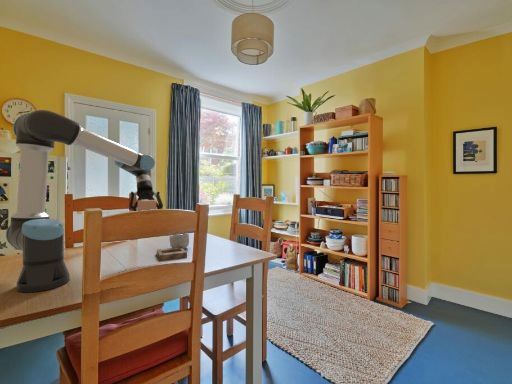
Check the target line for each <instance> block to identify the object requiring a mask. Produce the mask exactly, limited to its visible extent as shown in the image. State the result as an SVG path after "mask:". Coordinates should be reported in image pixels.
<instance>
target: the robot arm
mask: <svg viewBox="0 0 512 384" xmlns="http://www.w3.org/2000/svg"><path fill="white" fill-rule="evenodd" d="M12 126H13V127H12V131H13V133H14V136H15V137H16V138H15V146H16V147H17V148H18V149H20V156H19V157H20V158H19V159H20V160H19V170H18V184H17V185H18V186H17V201H16V212H14V213H13V214H11V216H10V222H9V223H10V225H9V226H8V227H7V229H6V231H5V239H6V241H7V242H8V244H9V245H10V246H11V247H13V248H14V249H17V250H20V251H22V268H21V271H20V273H19V275H18V279H17V281H16V291H18V292H19V293H38V292H44V291H48V290H52V289H55V288H58V287H62V286H63V285H66V284H67V283H69V282H70V280H71V278H70V275H71V274H70V271H69V269H68V267H67V265H66V263H65V260H64V259H65V256H64V255H65V254H64V251H65V246H64V243H65V242H64V241H65V239H64V238H65V237H64V234H65V228H64V224H63V222H62V221H61V220H58V219H55V218H54V219H53V218H52V219H51V216H50V214H48V213H47V211H46V205H47V190H48V189H47V188H48V177H49V176H48V175H49V159H50V153H51V152H53V151H54V150H55V142H56V143H62V144H65V145H66V146H72V145H74V146H77V147H79V148H82V149H85V150H87V151H90V152H92V153H95V154H98V155H100V156H103V157H106V158H108V159H111V160H114V165H115V166H117V167H119V168H120V169H122V170H124V171H125V172H127V173H129V174H131V175H133V176H135V180H136V191H135V192H134V191H131V192H130V199H129V200H130V201H129V205H128V210H130V211H131V210H132V212H133V211H138V200H156V209H160V210H163V208H164V204H163V201H162V198H161V196H160V192H159V191H154V190H153V188H154V187H153V180H152V171H151V170H152V169H153V168H154V167H155V165H156V164H155V163H156V161H155V158H154V157H153V156H152V155H150V154H142V153H140V152H138V151H135V150H133V149H131V148H129V147H127V146H124V145H121V144H120V143H117V142H115V141H114V140H111V139H109V138H106V137H104V136H101V134H100V135H99V134H98V133H96V132H93V131H91V130H89V129H86V128H85V127H82V126H81V124H80V122H77V121H75V120H73V119H70V118H69V117H67V116H64V115H63V114H60V113H57V112H54V111H51V110H45V109H37V110H33V111H31V112H27V113H24V114H22V115H20V116H19V117H17V118H16V120H15V121H14V122H13V125H12ZM136 196H137V197H138V198H137V199H136V201H135V203H134V200H135V197H136ZM154 197H155V198H156V199H155V198H154Z"/></svg>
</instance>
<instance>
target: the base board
mask: <svg viewBox="0 0 512 384" xmlns="http://www.w3.org/2000/svg"><path fill="white" fill-rule="evenodd" d="M156 256H157V257H158V260H159V261H166V260H174V259H175V260H176V259H183V258H188V252H187V251H186V250H185V249H183V248H182V247H176V248H172V247H167V248H160V249H159V248H158V249H156Z"/></svg>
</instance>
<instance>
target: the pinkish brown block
mask: <svg viewBox="0 0 512 384" xmlns="http://www.w3.org/2000/svg"><path fill="white" fill-rule="evenodd" d="M156 202H157V199H155V200H146V199H145V200H138V207H137V208H138V211H141V210H150V209H156Z"/></svg>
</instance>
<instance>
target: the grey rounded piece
mask: <svg viewBox="0 0 512 384" xmlns="http://www.w3.org/2000/svg"><path fill="white" fill-rule="evenodd" d="M172 235H173V234H172ZM189 235H190V234H189V233H186V234H183V235H173V236H170V235H169V245H170V248H176V247H182V248H183V249H184V250H185V249H187V247H189V244H190V236H189Z"/></svg>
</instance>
